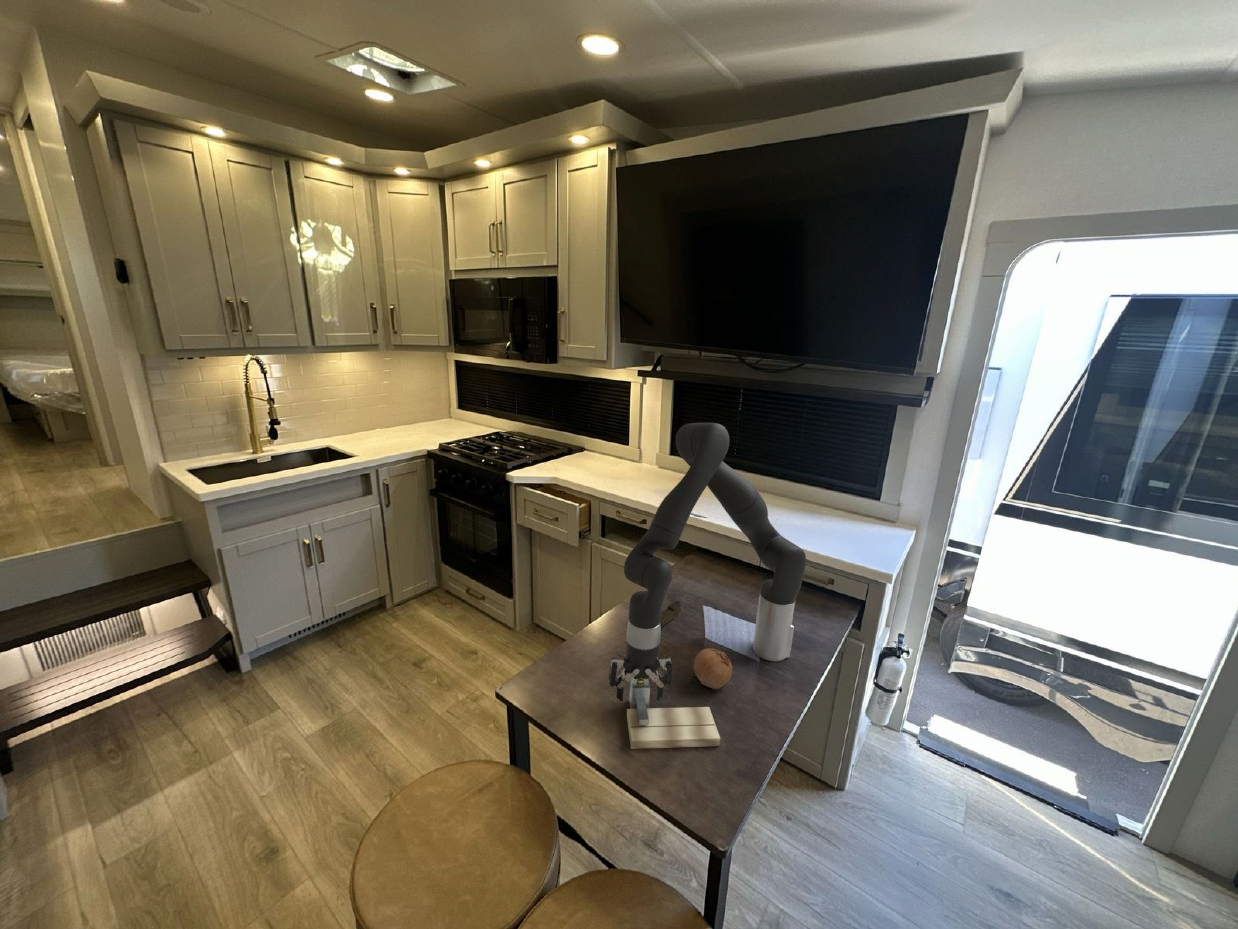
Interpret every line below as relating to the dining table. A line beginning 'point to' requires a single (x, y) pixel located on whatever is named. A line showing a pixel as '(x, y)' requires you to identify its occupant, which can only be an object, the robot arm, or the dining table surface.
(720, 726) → the dining table surface
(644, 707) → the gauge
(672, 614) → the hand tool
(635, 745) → the board
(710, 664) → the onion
